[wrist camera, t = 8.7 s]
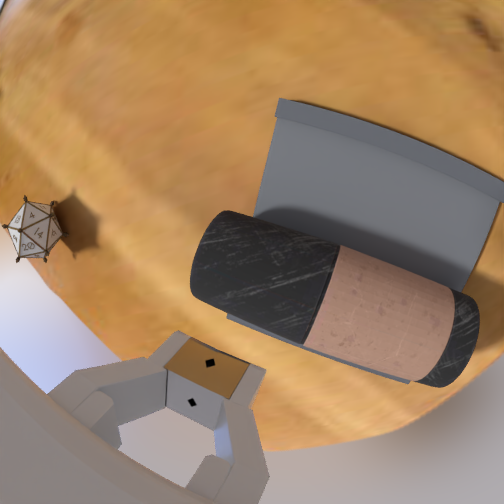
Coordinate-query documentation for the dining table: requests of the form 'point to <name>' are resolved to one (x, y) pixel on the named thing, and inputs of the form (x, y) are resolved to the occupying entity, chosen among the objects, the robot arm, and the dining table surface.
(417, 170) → the tray
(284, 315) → the travel mug
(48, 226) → the game die
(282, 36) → the dining table surface
